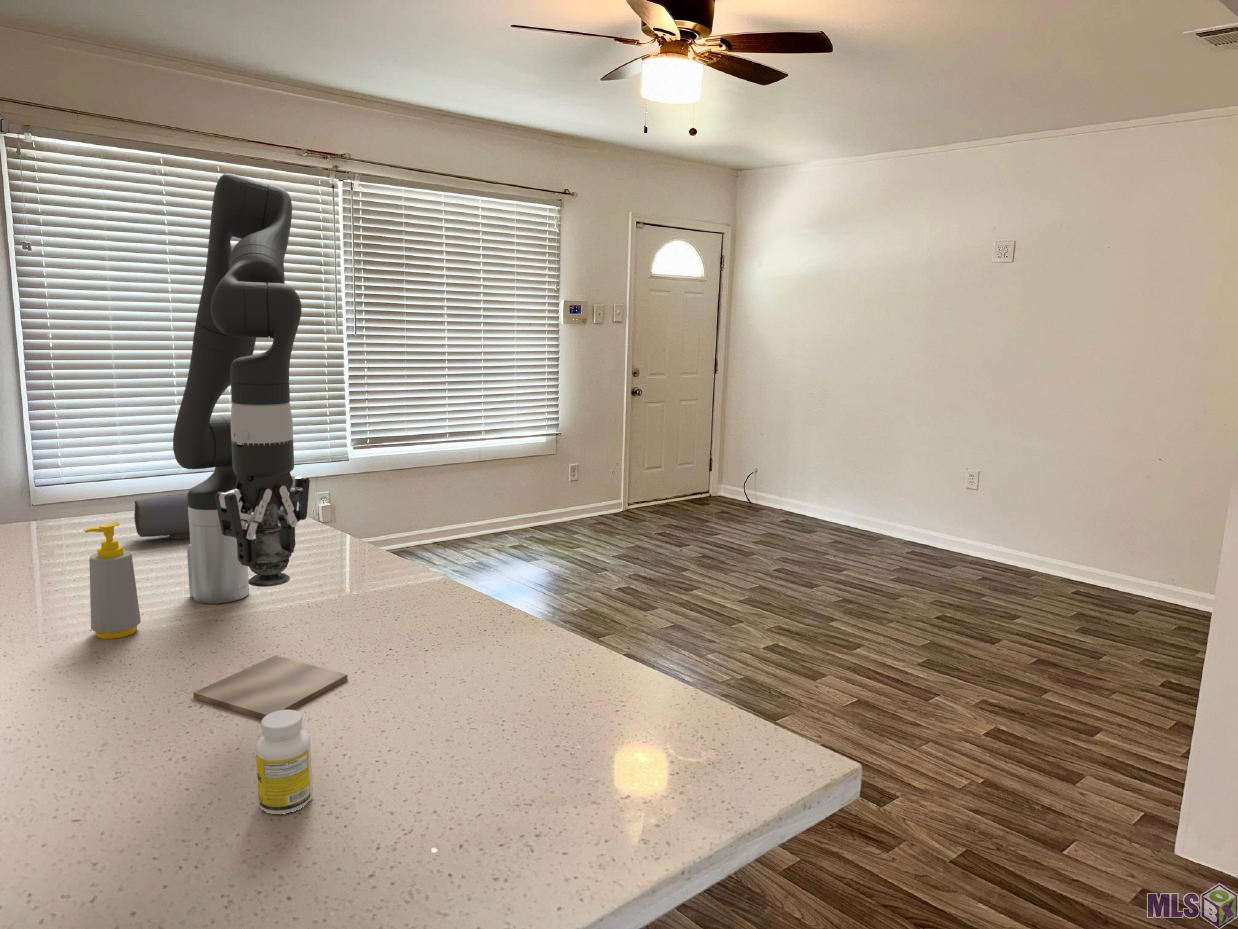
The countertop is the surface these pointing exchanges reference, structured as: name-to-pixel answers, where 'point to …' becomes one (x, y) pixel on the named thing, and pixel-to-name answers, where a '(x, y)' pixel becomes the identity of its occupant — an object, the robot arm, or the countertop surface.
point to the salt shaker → (269, 552)
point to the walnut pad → (270, 687)
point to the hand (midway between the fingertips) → (267, 558)
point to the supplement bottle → (283, 763)
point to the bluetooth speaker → (163, 516)
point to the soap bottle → (112, 588)
